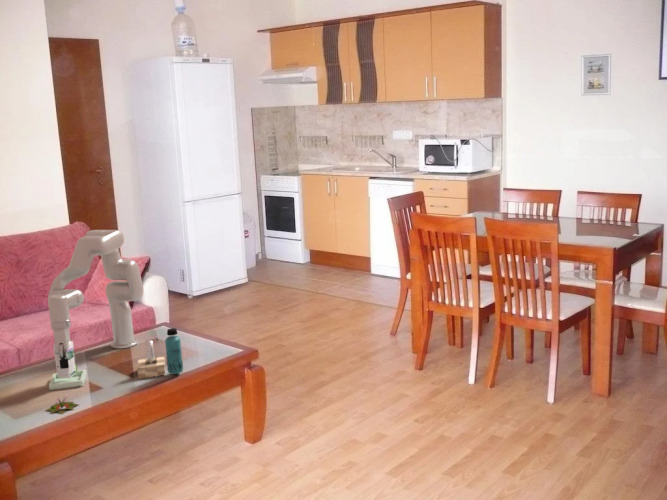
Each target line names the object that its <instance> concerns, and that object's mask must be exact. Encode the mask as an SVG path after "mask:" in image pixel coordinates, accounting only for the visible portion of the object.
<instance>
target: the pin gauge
mask: <svg viewBox="0 0 667 500" xmlns="http://www.w3.org/2000/svg"><path fill="white" fill-rule="evenodd" d="M153 341H154V340H152V339H147V340H145V341H144V345H145V356H146V359H147V365H149V364H155V359H154V358H155V351H154V350H155V349H154V342H153Z"/></svg>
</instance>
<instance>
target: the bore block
mask: <svg viewBox="0 0 667 500" xmlns="http://www.w3.org/2000/svg"><path fill="white" fill-rule="evenodd" d="M154 359H155V364H149V365H147V358H139V359H138V361H137V366H136V367H137V368H136V369H137V379H146V378H154V377H153V376H155V377H159V376H158V375H163V376H165V375H166V360H165V356H159V357H158V356H157V357H154ZM164 374H165V375H164Z"/></svg>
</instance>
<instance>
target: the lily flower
mask: <svg viewBox="0 0 667 500" xmlns="http://www.w3.org/2000/svg"><path fill="white" fill-rule="evenodd" d="M67 398H68V397H66V395H65V396H64V397H63V399H62V400H60V398H59V397H57V398H56V400H57V402H56V401H55V402H54V404H53V405H51V407H48V408H47V409H46V410H44V411H47V412H48V411H50V414H53V413H56V412H57V413H59V414H61V415H62V414H64V413H65V412H66V411H68V410H75V409H74V408H75V407H77V406H79V405H80V404H78V403H74V401H67V400H66V399H67ZM64 407H65V408H64ZM63 408H64V409H63Z"/></svg>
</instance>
